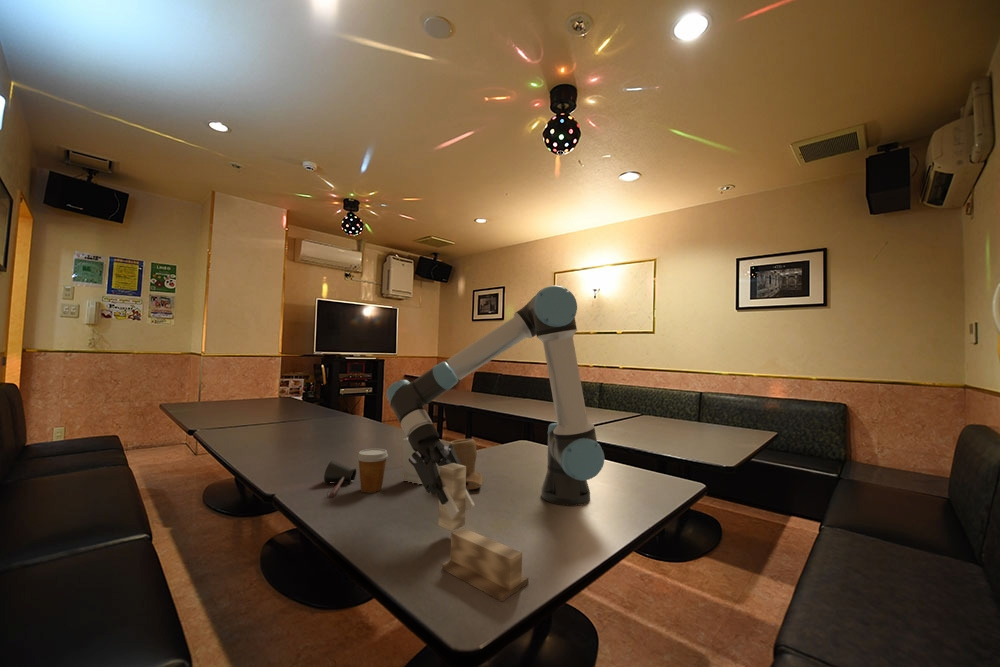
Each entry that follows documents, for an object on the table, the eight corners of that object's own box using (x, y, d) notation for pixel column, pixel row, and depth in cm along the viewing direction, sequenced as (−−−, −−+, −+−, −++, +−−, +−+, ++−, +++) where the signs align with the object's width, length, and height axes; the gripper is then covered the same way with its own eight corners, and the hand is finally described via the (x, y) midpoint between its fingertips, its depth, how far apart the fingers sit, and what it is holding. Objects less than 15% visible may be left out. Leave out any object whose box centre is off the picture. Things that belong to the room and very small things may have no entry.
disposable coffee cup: (393, 488, 129) (394, 451, 130) (369, 497, 121) (370, 456, 122) (373, 483, 135) (374, 446, 135) (349, 490, 127) (350, 452, 127)
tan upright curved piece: (449, 477, 143) (451, 434, 144) (483, 477, 143) (484, 435, 144) (444, 491, 128) (445, 444, 129) (481, 492, 128) (482, 445, 129)
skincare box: (431, 481, 138) (432, 437, 139) (419, 485, 133) (421, 440, 134) (412, 477, 142) (414, 434, 143) (400, 481, 137) (402, 437, 138)
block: (452, 520, 99) (453, 462, 100) (465, 525, 96) (466, 466, 97) (438, 525, 96) (439, 466, 96) (451, 531, 93) (452, 470, 94)
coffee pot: (331, 477, 138) (356, 481, 138) (305, 503, 120) (333, 508, 120) (335, 456, 138) (359, 461, 138) (309, 479, 120) (337, 484, 120)
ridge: (442, 569, 82) (443, 536, 82) (469, 554, 88) (470, 524, 88) (502, 601, 71) (502, 564, 72) (528, 582, 77) (529, 548, 78)
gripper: (438, 435, 114) (480, 509, 102) (385, 445, 100) (426, 532, 89) (452, 418, 110) (496, 493, 99) (398, 426, 97) (442, 514, 85)
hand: (463, 511), depth 94 cm, fingers closed on block, 4 cm apart
